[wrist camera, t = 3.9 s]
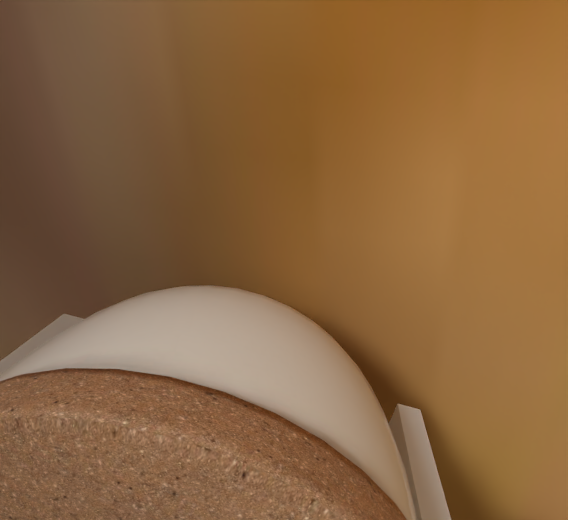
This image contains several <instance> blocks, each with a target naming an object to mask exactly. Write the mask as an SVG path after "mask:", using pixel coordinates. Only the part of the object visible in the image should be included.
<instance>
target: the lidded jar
mask: <svg viewBox="0 0 568 520" xmlns="http://www.w3.org/2000/svg"><path fill="white" fill-rule="evenodd" d="M0 520H417V517H416V512H415V507H414V503H413V499H412V495H411V491H410V487H409V483H408V479H407V474H406V470H405V467H404V464H403V462H402V459H401V456H400V453H399V450H398V447H397V444H396V442H395V439H394V436H393V433H392V431H391V428H390V426H389V424H388V421H387V419H386V416H385V414H384V411H383V409H382V407H381V405H380V403H379V401H378V399H377V397H376V395H375V393H374V391H373V389H372V387H371V386H370V384H369V383H368V381H367V380H366V378H365V376H364V375H363V373H362V372H361V370H360V369H359V367H358V366H357V364H356V363H355V362H354V361H353V360H352V359H351V357H350V356H349V355H348V354H347V353H346V352H345V351H344V350H343V348H342V347H341V346H340V345H339V344H338V343H337V342H336V341H335V340H334V338H333V337H332V336H331V335H330V334H328V333H327V332H326V331H325V330H323V329H322V328H321V327H320V326H319V325H317V324H316V323H315V322H314V321H312V320H311V319H310V318H308V317H306V316H305V315H303V314H301V313H300V312H298V311H296V310H295V309H293V308H291V307H290V306H288V305H285V304H283V303H281V302H278V301H276V300H273V299H271V298H269V297H266V296H264V295H261V294H257V293H253V292H249V291H246V290H242V289H238V288H231V287H222V286H214V285H197V286H182V287H175V288H169V289H164V290H158V291H153V292H147V293H144V294H141V295H138V296H135V297H133V298H130V299H127V300H124V301H121V302H119V303H117V304H114V305H112V306H110V307H107V308H105V309H103V310H100V311H98V312H96V313H94V314H92V315H91V316H89V317H87V318H85V319H84V320H82V321H80V322H79V323H77V324H75V325H74V326H72V327H70V328H68V329H67V330H65V331H63V332H62V333H60V334H58V335H57V336H55V337H53V338H51V339H50V340H48V341H46V342H45V343H43V344H41V345H40V346H39V347H37V348H36V349H34V350H33V351H32V352H30V353H29V354H27V355H26V356H25V357H23V358H22V359H21V360H19V361H18V362H16V363H15V364H14V365H12V366H11V367H9V368H8V369H7V370H6V371H4V372H3V373H2V374H1V375H0Z"/></svg>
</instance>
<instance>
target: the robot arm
mask: <svg viewBox="0 0 568 520" xmlns="http://www.w3.org/2000/svg"><path fill="white" fill-rule="evenodd" d="M82 320H84V319H83V318H79V317H75V316H71V315H68V314H63V315H61V316H60V317H58V318H57V319H56V320H54V321H53V322H52V323H50V324H49V325H48V326H46V327H45V328H44V329H42V330H41V331H40V332H38V333H37V334H36V335H34V336H33V337H32V338H30V339H29V340H28V341H26V342H25V343H24V344H22V345H21V346H20V347H18V348H17V349H16V350H14V351H13V352H12V353H10V354H9V355H8V356H6V357H5V358H4V359H2V360H1V361H0V375H1V374H2V373H3V372H4V371H6V370H7V369H8V368H9V367H11V366H12V365H14V364H15V363H16V362H18V361H19V360H21V359H22V358H23V357H25V356H26V355H27V354H29V353H30V352H32V351H33V350H34V349H36V348H37V347H39V346H40V345H41V344H43V343H45V342H46V341H48V340H50V339H51V338H53V337H55V336H57V335H58V334H60V333H62V332H63V331H65V330H67V329H68V328H70V327H72V326H74V325H75V324H77V323H79V322H80V321H82ZM389 426H390V428H391V431H392V433H393V436H394V439H395V442H396V444H397V447H398V450H399V453H400V456H401V459H402V462H403V464H404V467H405V470H406V474H407V479H408V483H409V487H410V491H411V495H412V499H413V503H414V507H415V512H416V517H417V520H451V517H450V513H449V510H448V506H447V503H446V499H445V496H444V492H443V488H442V485H441V481H440V478H439V474H438V471H437V467H436V464H435V460H434V456H433V453H432V449H431V446H430V442H429V439H428V435H427V432H426V428H425V424H424V421H423V417H422V414H421V410H420V409H416V408H413V407H409V406H405V405H402V404H397V406H396V408H395V410H394V413H393V415H392V417H391V419H390V422H389Z"/></svg>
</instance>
